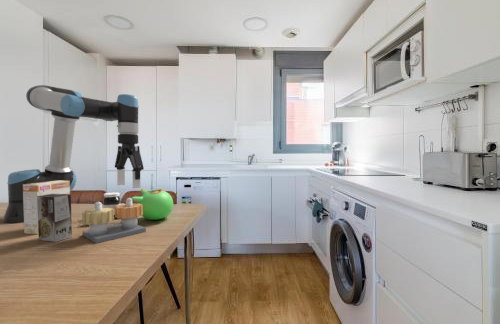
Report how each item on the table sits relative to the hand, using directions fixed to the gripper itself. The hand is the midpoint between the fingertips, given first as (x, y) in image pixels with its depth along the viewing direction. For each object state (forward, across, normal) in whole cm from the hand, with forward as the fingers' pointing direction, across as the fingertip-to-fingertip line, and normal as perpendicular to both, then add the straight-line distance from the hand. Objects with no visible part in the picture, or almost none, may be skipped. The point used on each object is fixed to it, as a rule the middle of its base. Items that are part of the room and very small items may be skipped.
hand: (128, 186), depth 106 cm
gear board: (+18, 0, -6) cm, 19 cm away
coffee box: (+18, -10, -22) cm, 31 cm away
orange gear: (+12, 0, 0) cm, 12 cm away
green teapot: (+18, -8, +16) cm, 26 cm away
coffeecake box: (+18, -28, -21) cm, 39 cm away
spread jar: (+18, -28, +6) cm, 34 cm away
